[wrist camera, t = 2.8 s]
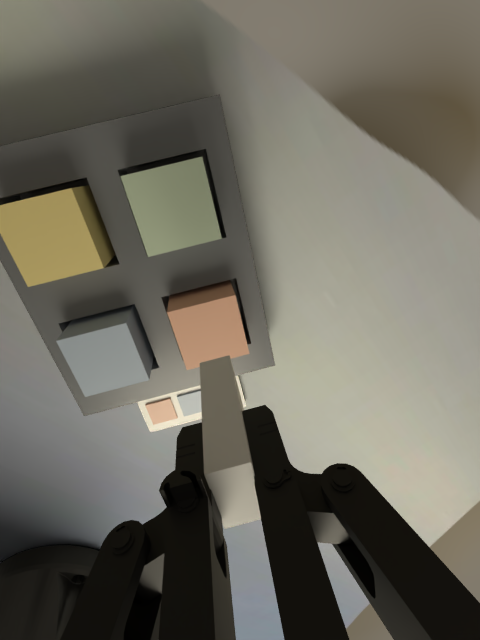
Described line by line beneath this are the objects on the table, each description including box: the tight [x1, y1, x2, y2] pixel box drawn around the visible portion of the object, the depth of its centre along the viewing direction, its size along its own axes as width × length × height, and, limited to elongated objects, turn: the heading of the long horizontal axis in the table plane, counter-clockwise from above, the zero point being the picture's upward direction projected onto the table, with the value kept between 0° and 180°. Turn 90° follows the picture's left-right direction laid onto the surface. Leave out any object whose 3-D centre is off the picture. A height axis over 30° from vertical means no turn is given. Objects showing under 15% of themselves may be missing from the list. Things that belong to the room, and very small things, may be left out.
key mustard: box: [0, 185, 116, 287], centre depth 20 cm, size 4×4×4 cm
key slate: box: [56, 304, 154, 397], centre depth 23 cm, size 4×4×4 cm
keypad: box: [0, 95, 275, 416], centre depth 24 cm, size 15×18×4 cm
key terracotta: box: [167, 280, 249, 370], centre depth 24 cm, size 4×4×4 cm
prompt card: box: [137, 375, 246, 432], centre depth 30 cm, size 9×4×1 cm, turn 102°
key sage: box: [120, 157, 222, 257], centre depth 20 cm, size 4×4×4 cm
